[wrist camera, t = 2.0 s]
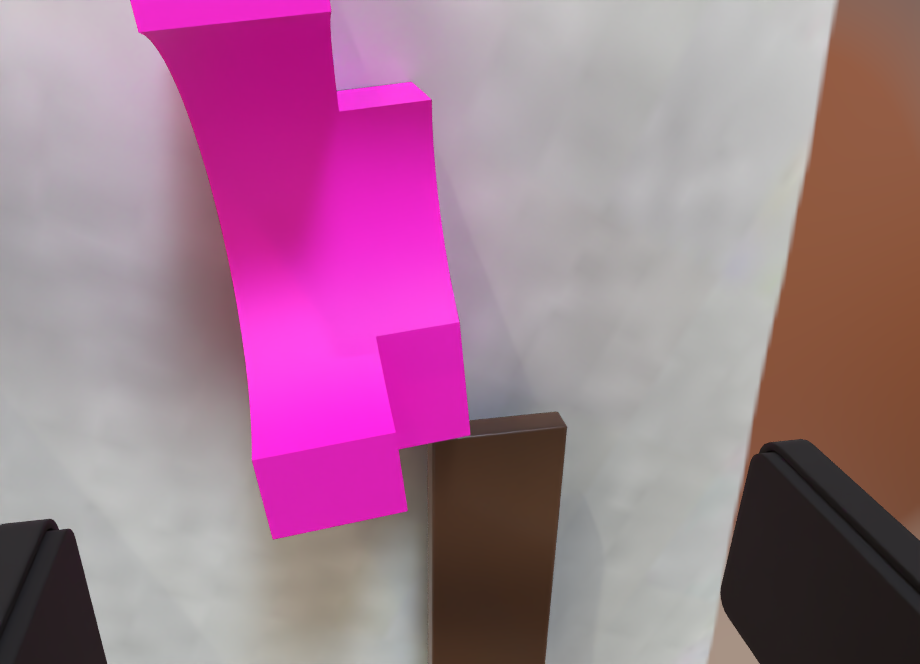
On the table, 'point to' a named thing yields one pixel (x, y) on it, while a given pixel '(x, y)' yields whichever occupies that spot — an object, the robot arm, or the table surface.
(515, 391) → the table surface
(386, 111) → the toy block
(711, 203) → the table surface
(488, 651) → the brown rectangular block
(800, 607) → the robot arm
